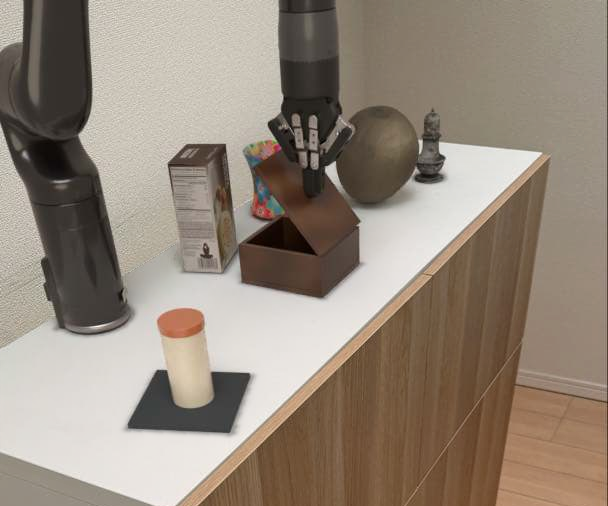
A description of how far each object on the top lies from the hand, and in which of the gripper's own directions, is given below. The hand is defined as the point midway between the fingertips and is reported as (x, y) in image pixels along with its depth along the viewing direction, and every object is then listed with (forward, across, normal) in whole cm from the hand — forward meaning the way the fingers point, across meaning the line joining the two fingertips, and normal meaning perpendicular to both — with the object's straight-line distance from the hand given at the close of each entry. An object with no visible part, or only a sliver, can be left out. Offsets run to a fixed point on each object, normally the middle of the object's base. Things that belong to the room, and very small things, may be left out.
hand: (314, 195), depth 108 cm
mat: (+12, -2, +36) cm, 38 cm away
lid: (+1, +1, 0) cm, 1 cm away
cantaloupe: (+12, +5, -32) cm, 34 cm away
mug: (+12, +18, -20) cm, 30 cm away
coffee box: (+12, +18, +1) cm, 22 cm away
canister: (+11, -2, +36) cm, 38 cm away
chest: (+12, +3, 0) cm, 12 cm away
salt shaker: (+12, +1, -46) cm, 47 cm away
